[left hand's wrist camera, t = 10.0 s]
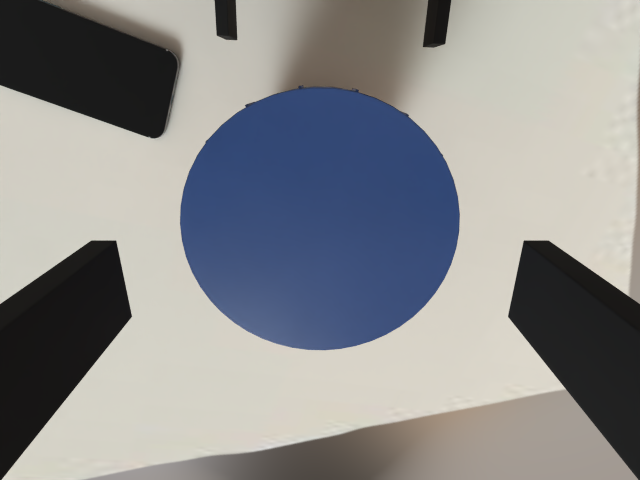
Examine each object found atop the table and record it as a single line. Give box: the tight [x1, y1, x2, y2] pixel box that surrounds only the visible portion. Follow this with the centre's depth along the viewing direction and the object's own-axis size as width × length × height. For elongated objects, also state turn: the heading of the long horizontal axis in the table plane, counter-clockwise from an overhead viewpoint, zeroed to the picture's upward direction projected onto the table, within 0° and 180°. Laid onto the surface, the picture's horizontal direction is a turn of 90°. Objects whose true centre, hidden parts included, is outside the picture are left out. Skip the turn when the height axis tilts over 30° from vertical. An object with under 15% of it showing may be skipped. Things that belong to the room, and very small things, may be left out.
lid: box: [180, 85, 460, 350], centre depth 17 cm, size 11×11×2 cm
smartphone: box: [0, 0, 180, 138], centre depth 32 cm, size 7×1×15 cm
